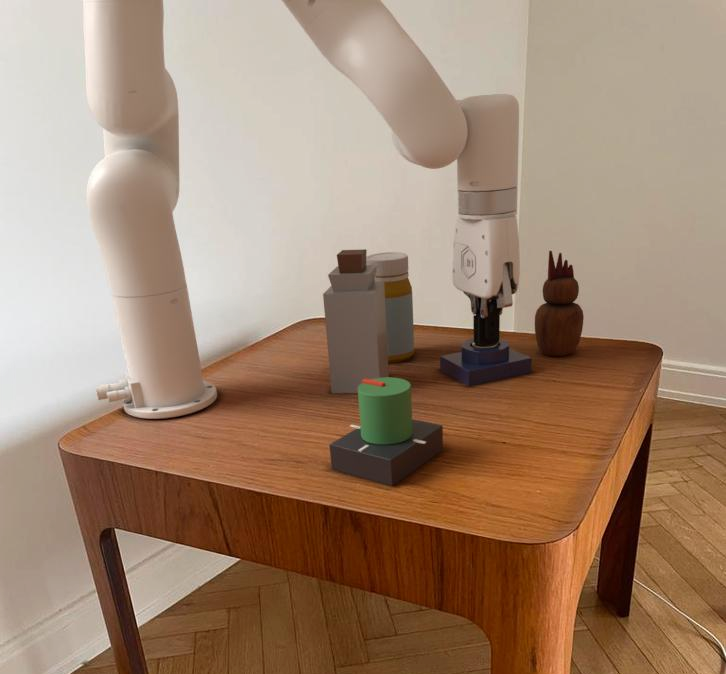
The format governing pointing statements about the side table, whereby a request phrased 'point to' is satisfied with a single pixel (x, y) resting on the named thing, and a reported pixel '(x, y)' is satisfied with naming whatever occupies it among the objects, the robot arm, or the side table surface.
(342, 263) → the perfume bottle
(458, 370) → the button block
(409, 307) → the bottle
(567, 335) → the wooden figurine
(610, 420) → the side table surface
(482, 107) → the robot arm
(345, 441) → the knob base
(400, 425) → the green rotary knob
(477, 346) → the button
